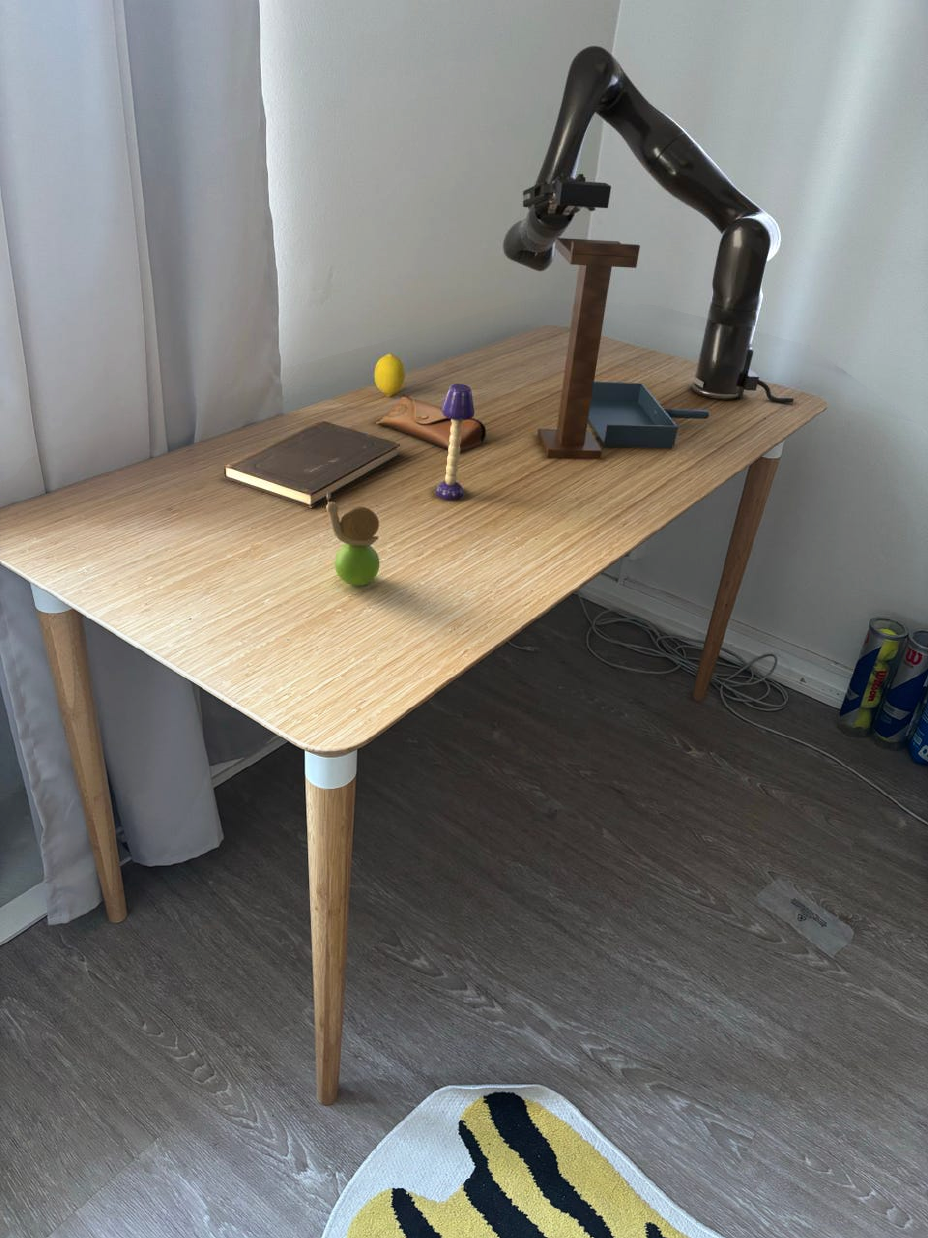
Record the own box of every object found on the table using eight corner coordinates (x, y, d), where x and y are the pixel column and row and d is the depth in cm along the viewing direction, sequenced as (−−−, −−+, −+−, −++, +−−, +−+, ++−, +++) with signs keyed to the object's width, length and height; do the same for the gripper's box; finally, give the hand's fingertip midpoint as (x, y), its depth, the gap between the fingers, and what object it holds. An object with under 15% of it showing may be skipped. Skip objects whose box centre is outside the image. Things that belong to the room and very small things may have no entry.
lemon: (406, 392, 172) (407, 350, 168) (401, 403, 168) (403, 359, 163) (376, 389, 173) (377, 347, 168) (371, 400, 168) (372, 356, 164)
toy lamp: (471, 492, 139) (480, 384, 130) (461, 504, 135) (470, 394, 126) (441, 485, 140) (448, 378, 131) (430, 498, 136) (437, 388, 127)
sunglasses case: (372, 422, 158) (385, 384, 157) (393, 432, 164) (407, 396, 163) (457, 452, 150) (472, 413, 149) (476, 462, 156) (491, 424, 155)
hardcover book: (399, 457, 148) (400, 443, 146) (311, 508, 130) (311, 493, 129) (318, 432, 154) (318, 419, 152) (223, 478, 136) (222, 464, 135)
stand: (588, 434, 162) (620, 230, 144) (603, 460, 153) (640, 245, 134) (532, 433, 160) (557, 226, 142) (544, 459, 151) (573, 241, 133)
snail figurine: (327, 570, 117) (326, 483, 110) (378, 571, 117) (381, 485, 111) (325, 593, 112) (325, 504, 105) (379, 594, 113) (381, 505, 106)
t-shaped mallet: (541, 189, 157) (543, 168, 155) (587, 192, 158) (590, 171, 156) (558, 205, 145) (561, 182, 144) (608, 208, 147) (611, 186, 145)
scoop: (604, 446, 158) (607, 424, 156) (575, 400, 176) (578, 380, 174) (727, 449, 161) (732, 428, 159) (687, 404, 179) (691, 384, 177)
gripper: (511, 194, 168) (532, 152, 151) (585, 198, 170) (614, 158, 153) (511, 236, 168) (531, 200, 151) (585, 240, 170) (613, 204, 153)
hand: (573, 179), depth 152 cm, fingers closed on t-shaped mallet, 2 cm apart
